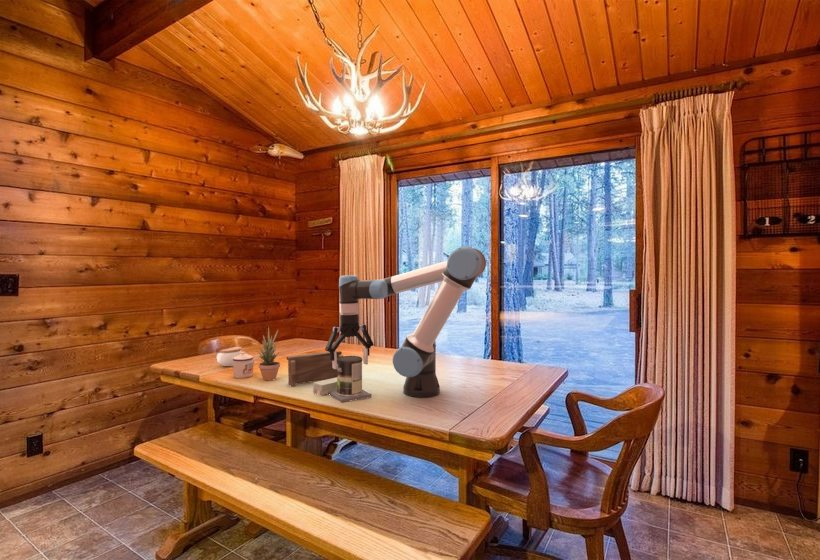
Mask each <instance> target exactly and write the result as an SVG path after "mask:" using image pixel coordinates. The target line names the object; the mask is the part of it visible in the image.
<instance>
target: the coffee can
mask: <svg viewBox="0 0 820 560" xmlns="http://www.w3.org/2000/svg"><path fill="white" fill-rule="evenodd" d="M362 389H363V357H362V356H357V355H343V357H339V358H337V394H338V395H340V396H345V397H351V396H357V395H360V394H362Z"/></svg>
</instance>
